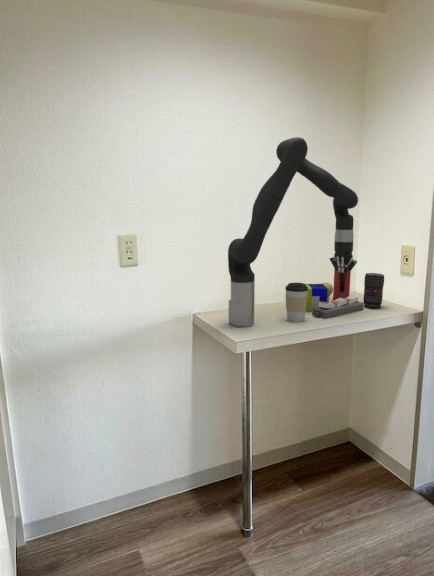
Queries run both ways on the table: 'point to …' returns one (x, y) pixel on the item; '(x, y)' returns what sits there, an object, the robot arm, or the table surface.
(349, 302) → the rocker
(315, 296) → the puzzle toy
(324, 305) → the rocker
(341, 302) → the rocker
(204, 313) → the table surface
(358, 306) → the power strip
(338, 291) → the speaker
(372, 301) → the camera lens
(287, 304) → the coffee cup
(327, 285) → the beige rounded piece
